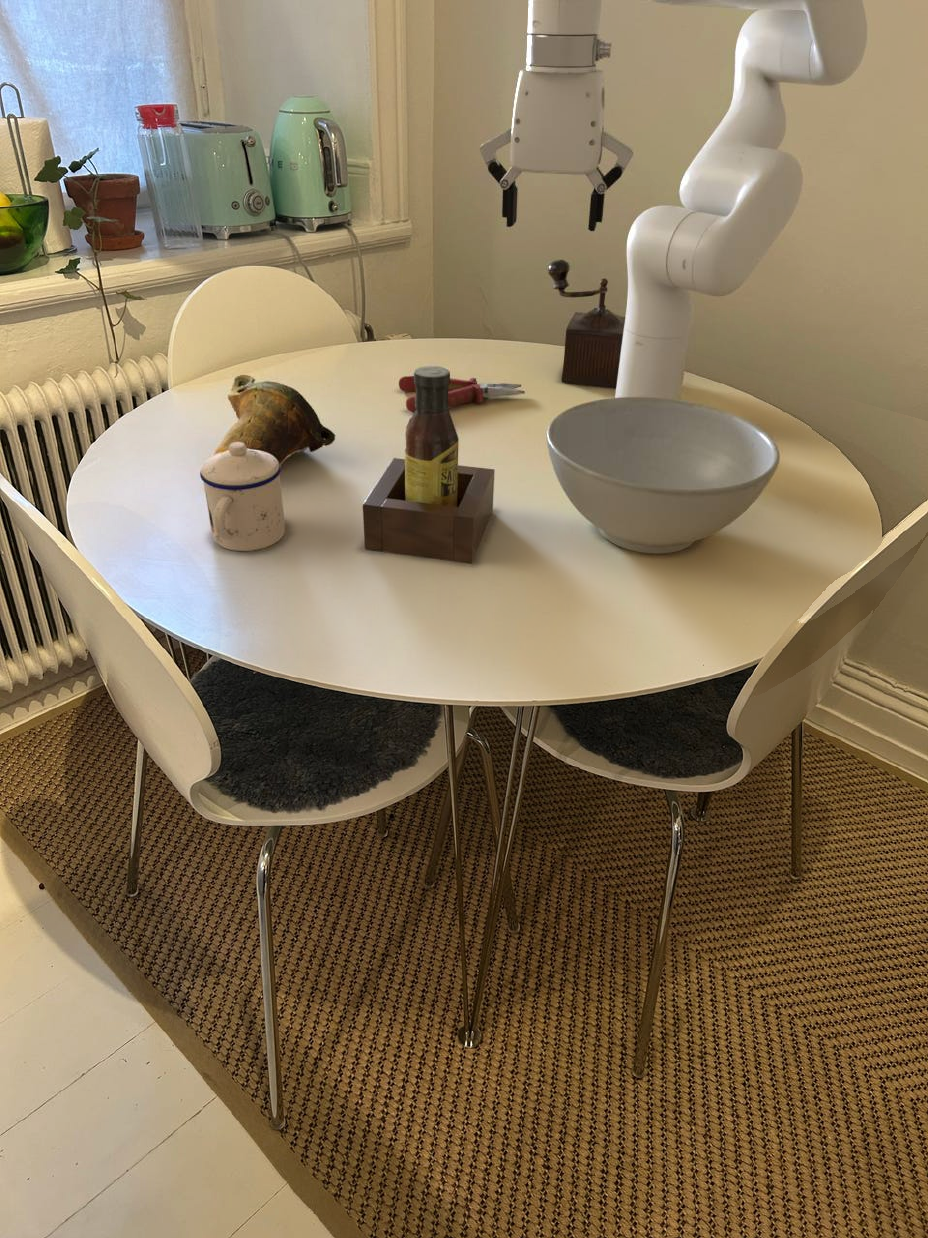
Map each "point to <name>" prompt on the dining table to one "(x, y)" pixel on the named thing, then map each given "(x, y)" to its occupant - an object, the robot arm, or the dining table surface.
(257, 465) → the teacup with lid
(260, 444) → the pot
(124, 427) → the dining table surface
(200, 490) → the dining table surface
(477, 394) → the pliers
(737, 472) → the decorative bowl
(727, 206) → the robot arm
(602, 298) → the manual coffee grinder
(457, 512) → the holder
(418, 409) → the sauce bottle
